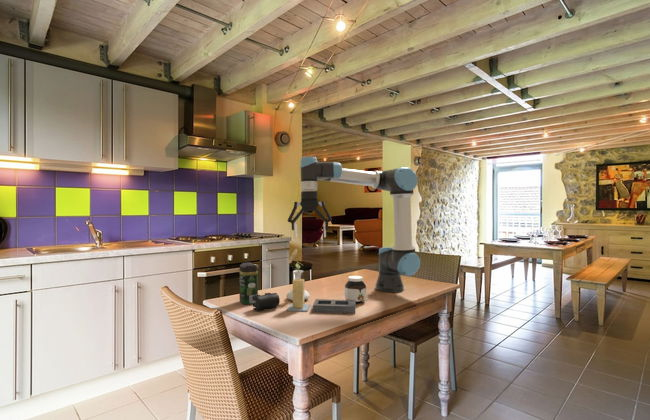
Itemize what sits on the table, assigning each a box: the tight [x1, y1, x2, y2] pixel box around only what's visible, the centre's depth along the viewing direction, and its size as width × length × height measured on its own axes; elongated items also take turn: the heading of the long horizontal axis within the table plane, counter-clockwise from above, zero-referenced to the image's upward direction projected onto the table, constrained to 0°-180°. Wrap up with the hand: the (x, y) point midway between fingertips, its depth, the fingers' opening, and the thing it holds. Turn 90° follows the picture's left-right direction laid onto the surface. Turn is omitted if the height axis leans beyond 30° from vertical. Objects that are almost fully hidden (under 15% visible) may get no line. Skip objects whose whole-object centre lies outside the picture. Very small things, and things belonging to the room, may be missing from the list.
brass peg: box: [292, 278, 305, 309], centre depth 153 cm, size 4×4×12 cm
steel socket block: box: [312, 298, 357, 315], centre depth 152 cm, size 18×10×3 cm, turn 84°
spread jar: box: [343, 275, 367, 305], centre depth 167 cm, size 12×11×12 cm
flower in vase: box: [285, 248, 311, 301], centre depth 168 cm, size 13×11×25 cm
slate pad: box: [286, 303, 311, 313], centre depth 154 cm, size 9×9×1 cm
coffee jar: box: [239, 261, 259, 306], centre depth 163 cm, size 10×8×19 cm
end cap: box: [252, 292, 281, 313], centre depth 152 cm, size 10×7×7 cm
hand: (310, 237), depth 160 cm, fingers open, 13 cm apart
